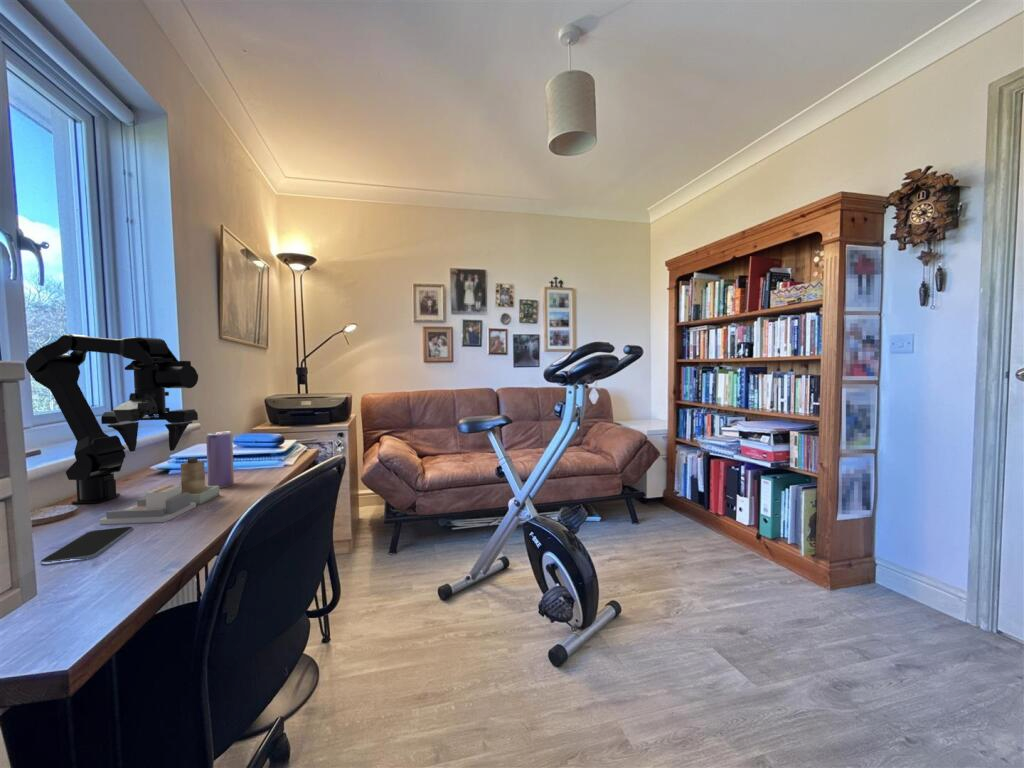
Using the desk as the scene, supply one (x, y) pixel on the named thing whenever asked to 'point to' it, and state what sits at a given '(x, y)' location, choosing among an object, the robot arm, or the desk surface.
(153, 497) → the breaker
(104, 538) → the smartphone
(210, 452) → the beverage can
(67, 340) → the robot arm
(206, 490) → the holder
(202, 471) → the tan rectangular block
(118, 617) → the desk surface
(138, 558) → the desk surface
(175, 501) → the panel
